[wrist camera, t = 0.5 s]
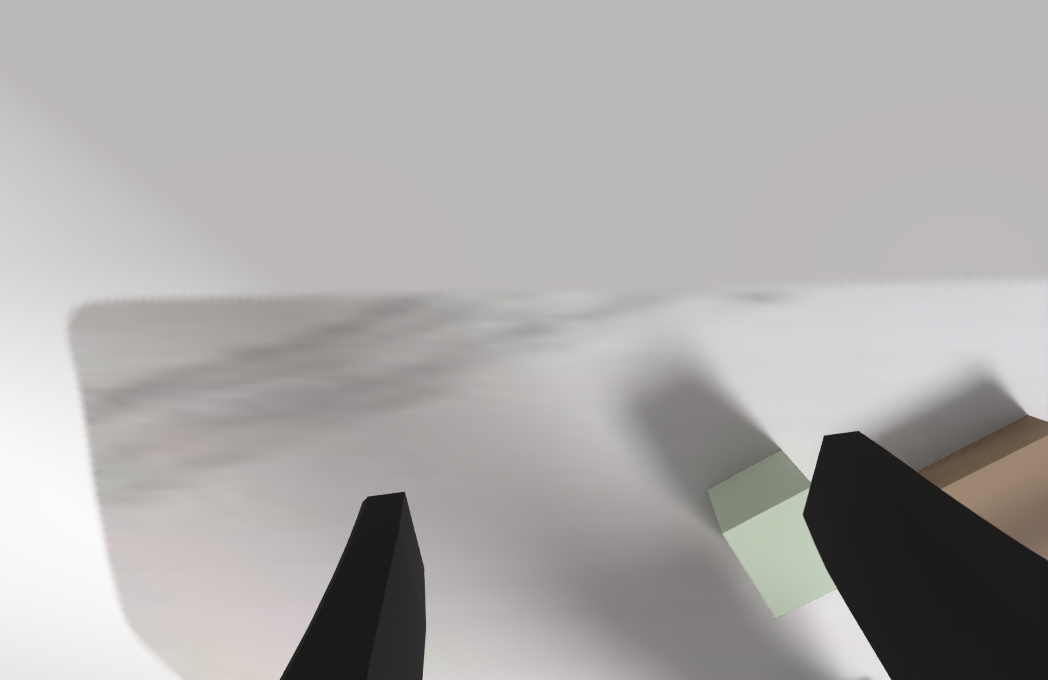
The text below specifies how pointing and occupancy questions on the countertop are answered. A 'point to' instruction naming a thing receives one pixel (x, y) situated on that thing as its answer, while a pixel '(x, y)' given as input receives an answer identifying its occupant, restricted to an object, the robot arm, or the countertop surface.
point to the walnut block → (1003, 480)
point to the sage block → (772, 532)
